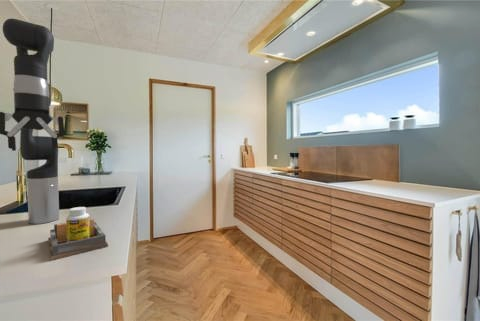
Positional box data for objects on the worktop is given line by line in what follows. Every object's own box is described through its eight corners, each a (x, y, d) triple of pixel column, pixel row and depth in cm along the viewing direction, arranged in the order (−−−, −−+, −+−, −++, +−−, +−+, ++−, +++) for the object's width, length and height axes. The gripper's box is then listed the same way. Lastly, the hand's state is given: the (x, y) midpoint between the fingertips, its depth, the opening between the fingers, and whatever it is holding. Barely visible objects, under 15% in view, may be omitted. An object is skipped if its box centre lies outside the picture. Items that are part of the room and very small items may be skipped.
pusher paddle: (57, 240, 68) (56, 224, 68) (93, 233, 74) (93, 218, 74) (57, 242, 67) (57, 225, 67) (94, 234, 73) (93, 219, 73)
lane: (48, 240, 71) (47, 225, 71) (96, 230, 80) (96, 217, 80) (50, 260, 59) (50, 242, 58) (107, 246, 67) (107, 230, 67)
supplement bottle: (66, 247, 64) (65, 212, 64) (67, 241, 69) (66, 207, 68) (90, 243, 67) (88, 209, 67) (89, 237, 72) (88, 205, 71)
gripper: (62, 100, 73) (63, 150, 74) (-2, 92, 64) (0, 150, 65) (64, 96, 68) (65, 150, 69) (-6, 87, 58) (-3, 150, 59)
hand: (34, 150), depth 67 cm, fingers open, 8 cm apart
